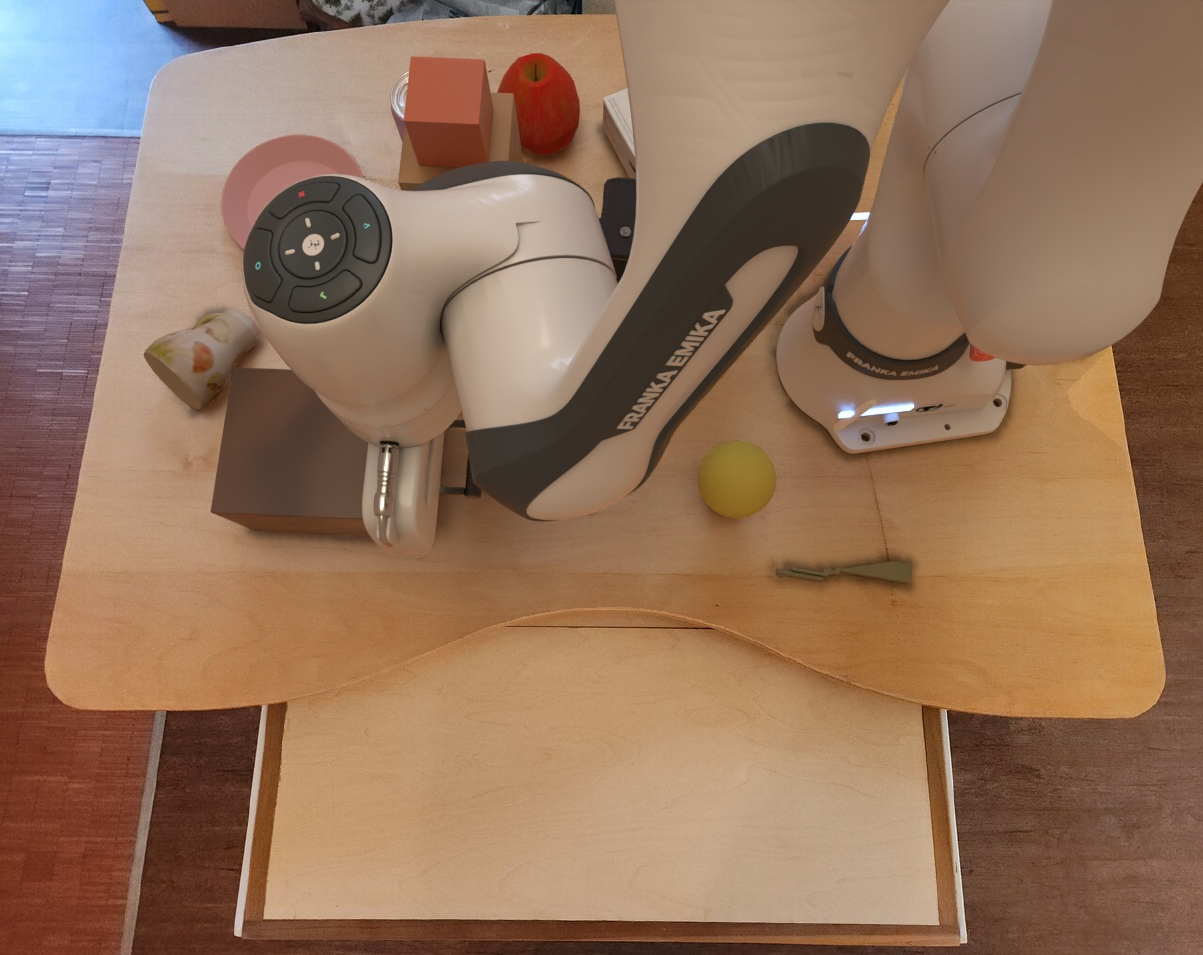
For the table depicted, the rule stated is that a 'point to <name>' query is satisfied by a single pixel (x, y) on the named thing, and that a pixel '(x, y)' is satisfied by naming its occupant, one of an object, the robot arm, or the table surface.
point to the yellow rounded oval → (736, 479)
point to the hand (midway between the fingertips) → (433, 435)
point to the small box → (620, 128)
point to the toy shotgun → (858, 572)
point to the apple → (542, 102)
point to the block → (449, 111)
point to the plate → (277, 176)
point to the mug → (202, 356)
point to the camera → (619, 220)
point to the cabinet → (287, 459)
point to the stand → (501, 146)
